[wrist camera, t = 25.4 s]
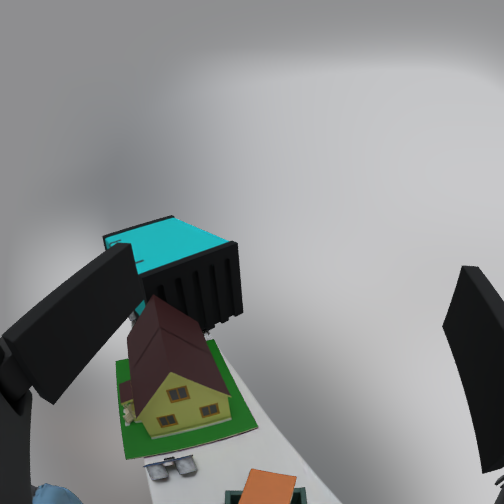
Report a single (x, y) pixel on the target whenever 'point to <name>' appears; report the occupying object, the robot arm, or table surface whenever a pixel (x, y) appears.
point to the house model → (175, 386)
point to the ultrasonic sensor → (181, 463)
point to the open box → (297, 500)
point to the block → (267, 488)
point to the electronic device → (185, 269)
